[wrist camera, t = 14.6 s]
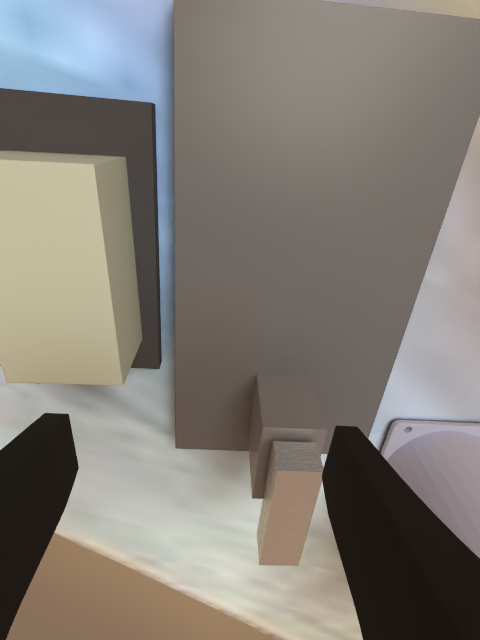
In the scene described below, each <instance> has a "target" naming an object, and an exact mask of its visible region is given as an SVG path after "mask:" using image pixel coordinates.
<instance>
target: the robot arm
mask: <svg viewBox="0 0 480 640" xmlns="http://www.w3.org/2000/svg"><path fill="white" fill-rule="evenodd" d="M406 427H407V428H406ZM78 468H79V467H78V461H77V456H76V451H75V446H74V440H73V435H72V430H71V424H70V419H69V414H54V413H44V414H43V415H42V416H41V417H40V418H38V419H37V420H36V421H35V422H34V423H32V424H31V425H30V426H29V427H28V428H26V429H25V430H24V431H23V432H22V433H20V434H19V435H18V436H17V437H16V438H14V439H13V440H12V441H11V442H10V443H9V444H7V445H6V446H5V447H4V448H3V449H1V450H0V640H6V638H7V635H8V633H9V630H10V627H11V625H12V623H13V620H14V618H15V616H16V614H17V611H18V609H19V606H20V604H21V602H22V600H23V598H24V595H25V594H26V591H27V589H28V587H29V585H30V583H31V581H32V579H33V576H34V574H35V572H36V570H37V568H38V566H39V564H40V561H41V559H42V557H43V555H44V553H45V551H46V549H47V546H48V544H49V542H50V540H51V538H52V536H53V534H54V531H55V529H56V527H57V525H58V523H59V520H60V518H61V516H62V514H63V512H64V509H65V507H66V504H67V502H68V499H69V496H70V493H71V490H72V487H73V484H74V481H75V478H76V475H77V471H78ZM322 481H323V487H324V493H325V499H326V504H327V510H328V515H329V518H330V522H331V526H332V529H333V533H334V536H335V540H336V543H337V547H338V550H339V553H340V557H341V560H342V564H343V567H344V571H345V574H346V577H347V581H348V584H349V588H350V591H351V595H352V598H353V601H354V605H355V608H356V612H357V616H358V620H359V624H360V628H361V632H362V637H363V640H480V423H461V422H438V421H415V420H396V421H394V422H393V423H392V424H391V427H390V429H389V432H388V435H387V437H386V440H385V443H384V445H383V448H382V451H381V453H380V452H379V451H378V450H377V449H376V448H375V446H374V445H373V444H372V443H371V442H370V441H369V439H368V438H367V437H366V436H365V435H364V434H363V432H362V431H361V430H360V429H359V428H358V427H357V426H335V430H334V434H333V437H332V441H331V444H330V448H329V452H328V455H327V459H326V462H325V466H324V469H323V473H322Z"/></svg>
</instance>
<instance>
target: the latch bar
mask: <svg viewBox="0 0 480 640" xmlns="http://www.w3.org/2000/svg"><path fill="white" fill-rule="evenodd" d="M322 473H323V465H322V462H321V458H320V455H319V451H318V447H317V444H316V443H312V442H287V441H273V444H272V450H271V456H270V461H269V467H268V473H267V479H266V484H265V490H264V496H263V502H262V508H261V513H260V519H259V525H258V531H257V540H258V555H259V565H292V566H298V564H299V560H300V557H301V553H302V550H303V546H304V543H305V539H306V536H307V532H308V529H309V525H310V522H311V518H312V514H313V511H314V507H315V504H316V500H317V497H318V493H319V490H320V486H321V483H322Z"/></svg>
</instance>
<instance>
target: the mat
mask: <svg viewBox="0 0 480 640" xmlns="http://www.w3.org/2000/svg"><path fill="white" fill-rule="evenodd" d="M0 151H23V152H42V153H61V154H80V155H99V156H118V157H126V165H127V176H128V187H129V198H130V209H131V220H132V231H133V241H134V252H135V263H136V274H137V285H138V296H139V307H140V318H141V329H142V341H141V344H140V346H139V348H138V351H137V353H136V355H135V358H134V360H133V363H132V365H131V367H130V368H148V369H159V368H160V365H161V361H162V358H161V318H160V279H159V240H158V201H157V162H156V122H155V104H153V103H148V102H138V101H127V100H117V99H107V98H96V97H86V96H76V95H65V94H55V93H44V92H34V91H24V90H13V89H3V88H0Z"/></svg>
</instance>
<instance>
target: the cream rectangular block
mask: <svg viewBox="0 0 480 640" xmlns="http://www.w3.org/2000/svg"><path fill="white" fill-rule="evenodd" d="M141 341H142V329H141V318H140V307H139V296H138V285H137V274H136V263H135V252H134V241H133V231H132V220H131V209H130V198H129V187H128V176H127V165H126V157H118V156H99V155H80V154H61V153H42V152H23V151H0V364H1V367H2V370H3V373H4V376H5V379H6V382H7V383H35V384H79V385H122V386H123V384H124V381H125V379H126V377H127V374H128V372H129V370H130V367H131V365H132V363H133V360H134V358H135V355H136V353H137V351H138V348H139V346H140V344H141Z"/></svg>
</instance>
